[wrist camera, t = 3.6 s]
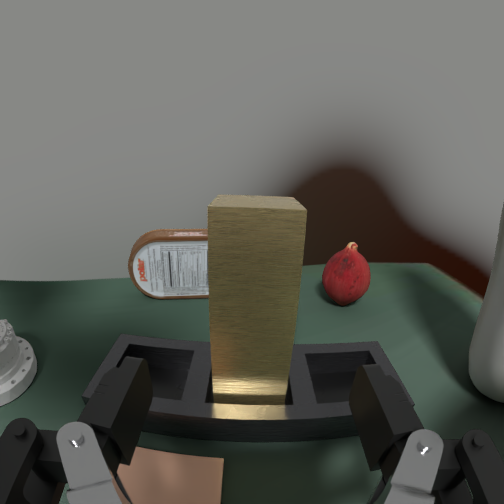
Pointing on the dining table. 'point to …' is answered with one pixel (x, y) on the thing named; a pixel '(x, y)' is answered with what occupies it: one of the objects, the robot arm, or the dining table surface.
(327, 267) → the pomegranate
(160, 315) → the dining table surface
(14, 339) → the mechanical component
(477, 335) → the glass bottle
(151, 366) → the compartment tray
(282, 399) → the brass block
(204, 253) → the tin
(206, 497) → the tile
